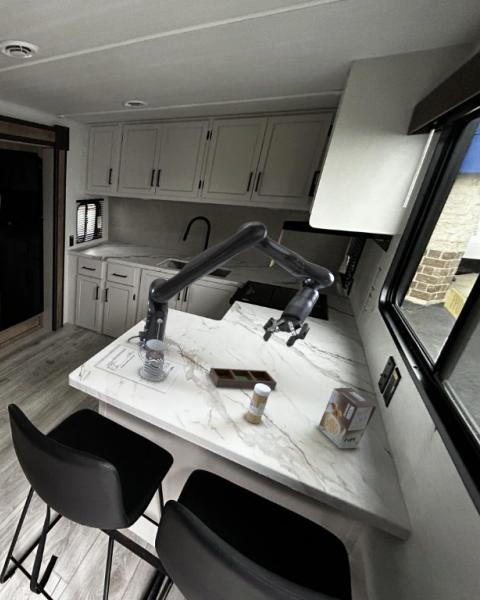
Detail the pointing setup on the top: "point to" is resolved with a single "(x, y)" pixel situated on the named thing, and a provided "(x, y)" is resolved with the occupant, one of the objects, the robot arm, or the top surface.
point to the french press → (155, 352)
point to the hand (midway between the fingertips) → (276, 342)
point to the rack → (241, 378)
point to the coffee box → (346, 417)
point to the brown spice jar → (258, 403)
